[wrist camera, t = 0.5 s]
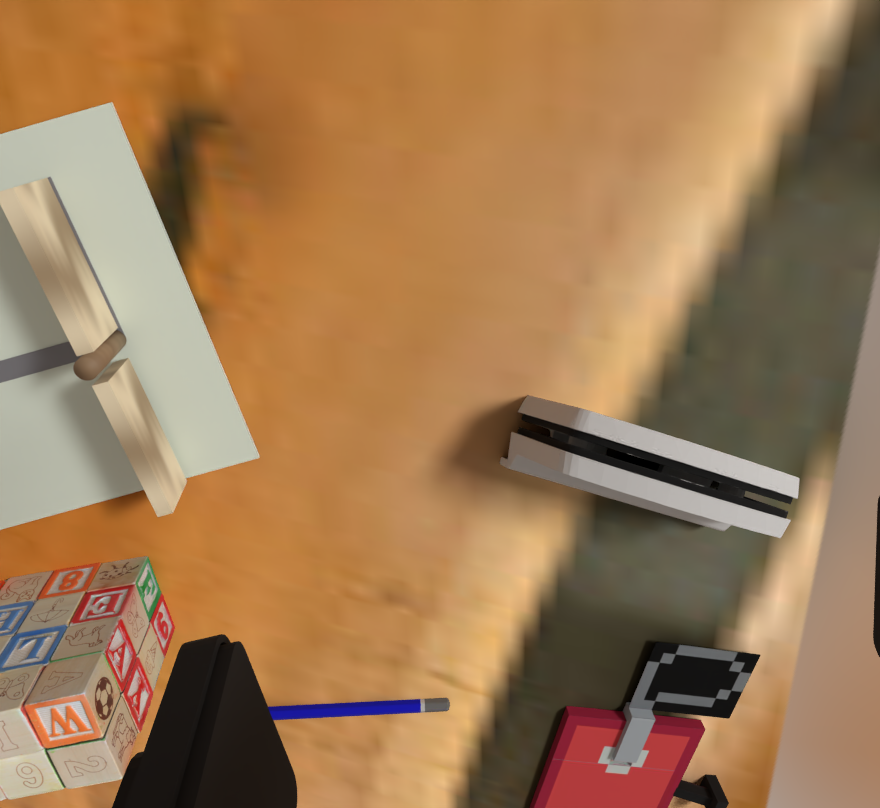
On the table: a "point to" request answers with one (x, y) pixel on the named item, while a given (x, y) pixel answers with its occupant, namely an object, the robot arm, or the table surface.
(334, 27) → the table surface
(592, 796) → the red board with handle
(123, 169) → the card
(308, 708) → the pencil
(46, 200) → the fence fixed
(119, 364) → the panel
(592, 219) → the table surface
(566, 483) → the grey piece
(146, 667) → the stack of blocks
